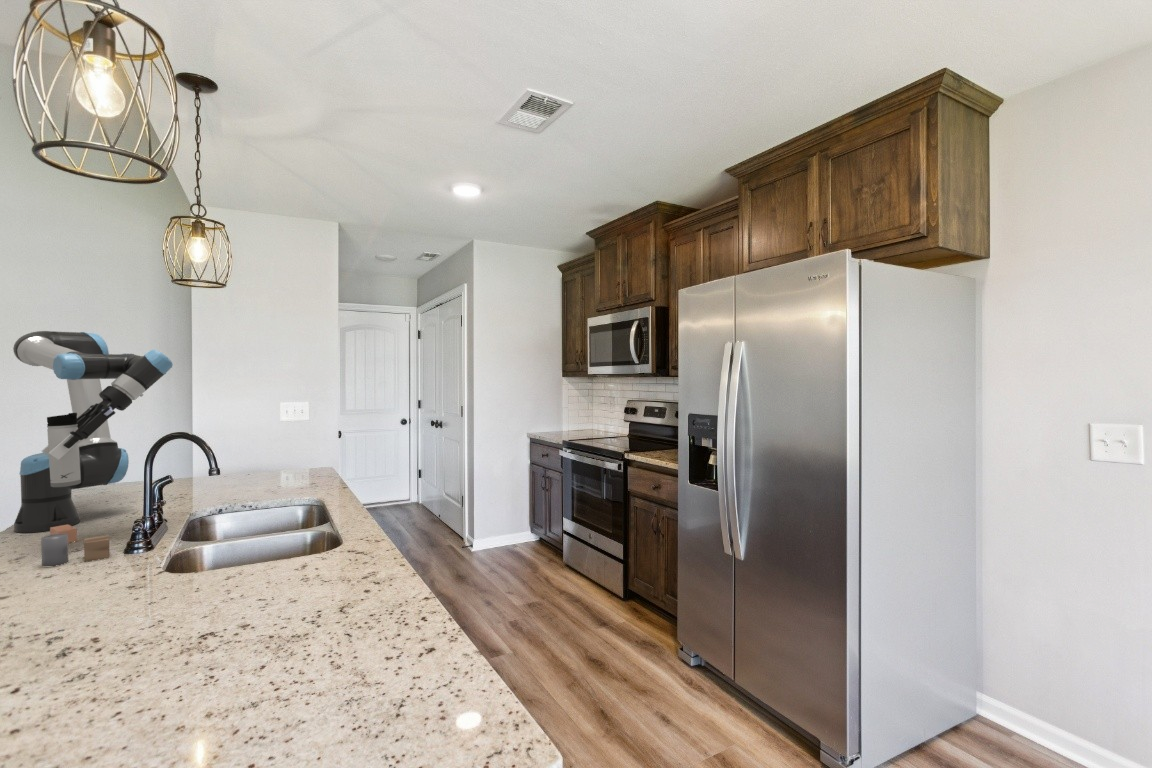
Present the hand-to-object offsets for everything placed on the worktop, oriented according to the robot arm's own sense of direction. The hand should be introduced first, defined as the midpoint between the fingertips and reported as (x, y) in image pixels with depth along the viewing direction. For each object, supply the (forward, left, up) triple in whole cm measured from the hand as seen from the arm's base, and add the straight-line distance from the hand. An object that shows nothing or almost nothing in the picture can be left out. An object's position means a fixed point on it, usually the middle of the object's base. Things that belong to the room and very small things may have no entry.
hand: (49, 455), depth 154 cm
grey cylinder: (+13, +6, -26) cm, 30 cm away
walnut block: (+11, +14, -26) cm, 32 cm away
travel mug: (-2, +3, -9) cm, 9 cm away
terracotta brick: (-10, -2, -27) cm, 28 cm away
